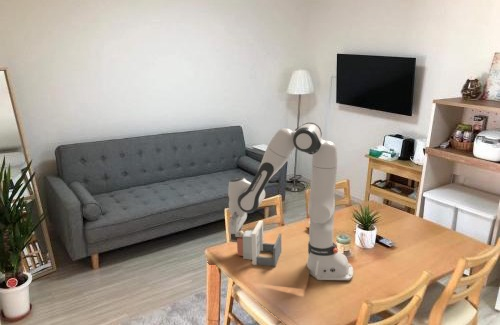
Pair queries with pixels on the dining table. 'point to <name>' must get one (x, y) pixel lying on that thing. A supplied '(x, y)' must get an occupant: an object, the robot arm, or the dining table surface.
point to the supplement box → (249, 245)
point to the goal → (264, 248)
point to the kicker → (238, 242)
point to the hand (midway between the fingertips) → (238, 234)
